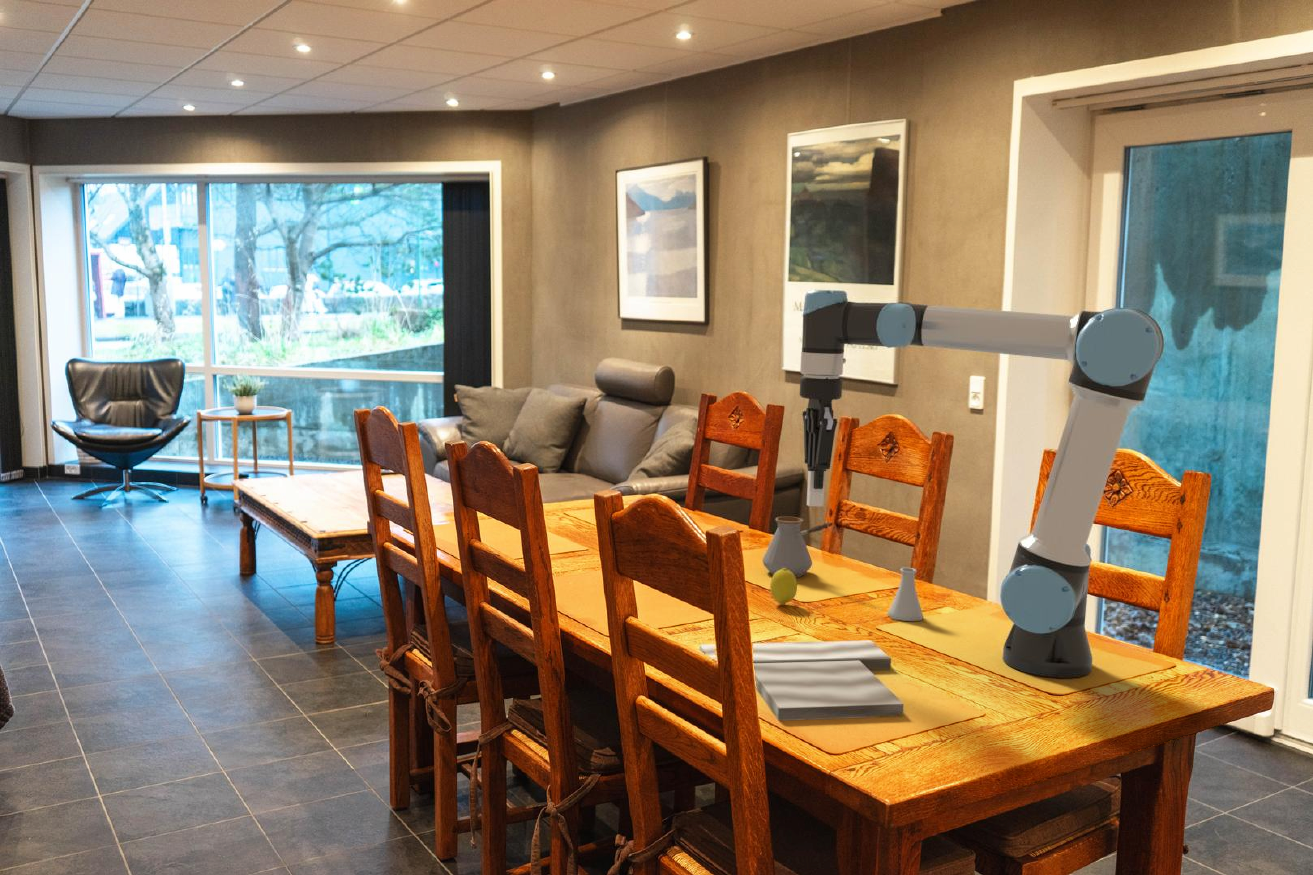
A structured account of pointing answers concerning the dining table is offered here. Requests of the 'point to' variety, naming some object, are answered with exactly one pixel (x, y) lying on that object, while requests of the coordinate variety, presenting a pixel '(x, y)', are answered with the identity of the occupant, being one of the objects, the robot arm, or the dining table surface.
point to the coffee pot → (790, 547)
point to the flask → (906, 599)
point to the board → (816, 652)
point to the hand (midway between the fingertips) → (815, 505)
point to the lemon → (783, 586)
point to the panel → (824, 690)
